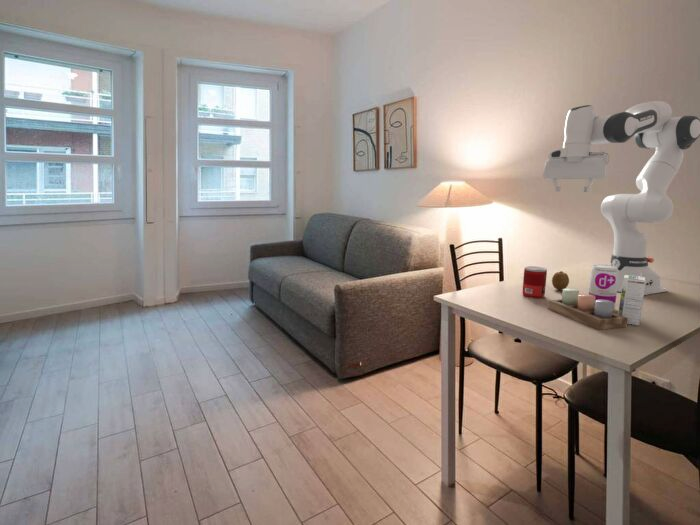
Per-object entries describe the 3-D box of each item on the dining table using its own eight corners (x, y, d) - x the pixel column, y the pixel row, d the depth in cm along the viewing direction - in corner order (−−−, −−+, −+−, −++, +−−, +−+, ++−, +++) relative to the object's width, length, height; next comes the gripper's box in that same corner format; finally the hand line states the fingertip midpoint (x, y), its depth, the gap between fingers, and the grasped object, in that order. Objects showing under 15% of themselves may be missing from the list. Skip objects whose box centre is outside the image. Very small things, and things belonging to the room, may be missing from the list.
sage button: (570, 302, 141) (571, 288, 140) (580, 305, 137) (582, 291, 136) (558, 302, 140) (559, 288, 139) (568, 306, 136) (569, 292, 135)
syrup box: (617, 317, 132) (623, 274, 129) (639, 321, 128) (646, 276, 126) (617, 322, 127) (622, 277, 124) (640, 326, 124) (646, 280, 121)
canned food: (546, 298, 154) (549, 270, 152) (524, 297, 155) (526, 269, 153) (541, 293, 161) (544, 266, 159) (520, 292, 163) (522, 265, 161)
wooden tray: (572, 306, 144) (573, 298, 143) (626, 327, 123) (627, 317, 122) (548, 308, 142) (548, 300, 141) (598, 329, 121) (599, 320, 120)
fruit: (559, 287, 170) (561, 269, 169) (571, 291, 165) (573, 272, 163) (547, 289, 168) (549, 270, 167) (559, 292, 163) (561, 273, 161)
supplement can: (614, 313, 136) (620, 269, 133) (586, 309, 140) (591, 267, 138) (614, 307, 143) (619, 265, 140) (587, 303, 147) (591, 263, 144)
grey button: (602, 314, 128) (604, 298, 127) (615, 319, 123) (617, 303, 122) (590, 315, 127) (591, 299, 126) (602, 320, 122) (604, 304, 121)
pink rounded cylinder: (585, 307, 135) (587, 293, 134) (597, 312, 130) (599, 297, 129) (573, 308, 134) (574, 294, 133) (584, 313, 129) (586, 298, 128)
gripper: (610, 152, 142) (605, 192, 145) (548, 154, 155) (544, 191, 157) (608, 150, 137) (603, 192, 140) (543, 153, 150) (540, 191, 152)
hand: (571, 191), depth 149 cm, fingers open, 8 cm apart
